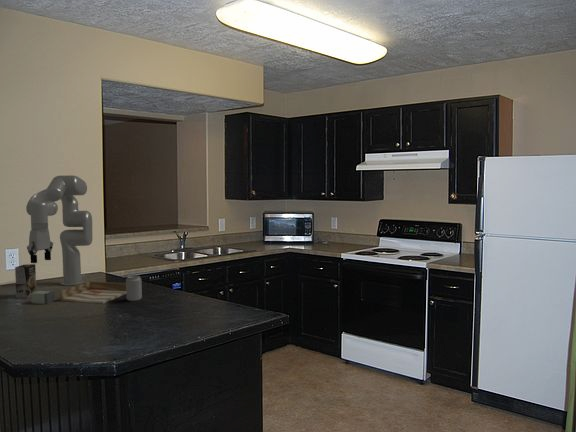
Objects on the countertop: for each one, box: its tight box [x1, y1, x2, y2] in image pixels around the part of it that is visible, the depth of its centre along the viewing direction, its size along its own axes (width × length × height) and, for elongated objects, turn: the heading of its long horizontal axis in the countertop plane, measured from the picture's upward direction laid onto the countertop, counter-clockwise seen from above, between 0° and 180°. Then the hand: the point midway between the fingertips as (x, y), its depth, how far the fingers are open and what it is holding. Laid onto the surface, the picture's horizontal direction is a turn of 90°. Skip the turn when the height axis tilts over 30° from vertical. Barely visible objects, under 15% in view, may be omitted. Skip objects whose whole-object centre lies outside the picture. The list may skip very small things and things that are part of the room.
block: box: [31, 290, 55, 305], centre depth 252 cm, size 5×9×5 cm, turn 77°
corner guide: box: [59, 281, 126, 304], centre depth 264 cm, size 24×24×5 cm
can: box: [125, 275, 143, 302], centre depth 256 cm, size 8×8×12 cm
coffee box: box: [14, 263, 38, 299], centre depth 266 cm, size 9×6×16 cm
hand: (41, 261), depth 251 cm, fingers open, 9 cm apart
